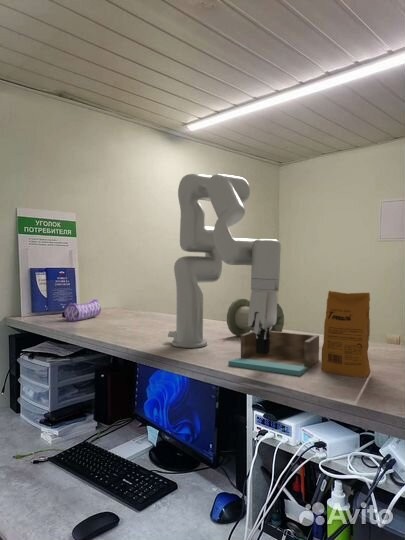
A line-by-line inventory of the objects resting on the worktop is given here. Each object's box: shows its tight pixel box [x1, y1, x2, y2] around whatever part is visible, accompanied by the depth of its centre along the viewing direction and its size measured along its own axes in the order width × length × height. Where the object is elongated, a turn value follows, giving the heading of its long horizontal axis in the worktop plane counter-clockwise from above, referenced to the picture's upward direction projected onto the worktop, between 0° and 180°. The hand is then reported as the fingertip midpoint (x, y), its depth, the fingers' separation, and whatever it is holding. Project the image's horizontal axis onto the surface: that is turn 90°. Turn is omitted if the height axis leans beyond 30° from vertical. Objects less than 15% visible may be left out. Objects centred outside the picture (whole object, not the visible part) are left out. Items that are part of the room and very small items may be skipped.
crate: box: [240, 331, 320, 370], centre depth 119 cm, size 20×12×8 cm, turn 61°
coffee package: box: [321, 290, 371, 378], centre depth 107 cm, size 10×12×22 cm
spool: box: [226, 298, 285, 337], centre depth 158 cm, size 16×15×15 cm
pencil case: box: [63, 298, 102, 322], centre depth 207 cm, size 22×9×10 cm, turn 163°
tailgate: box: [227, 357, 309, 377], centre depth 110 cm, size 20×1×8 cm
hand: (262, 352), depth 109 cm, fingers closed
